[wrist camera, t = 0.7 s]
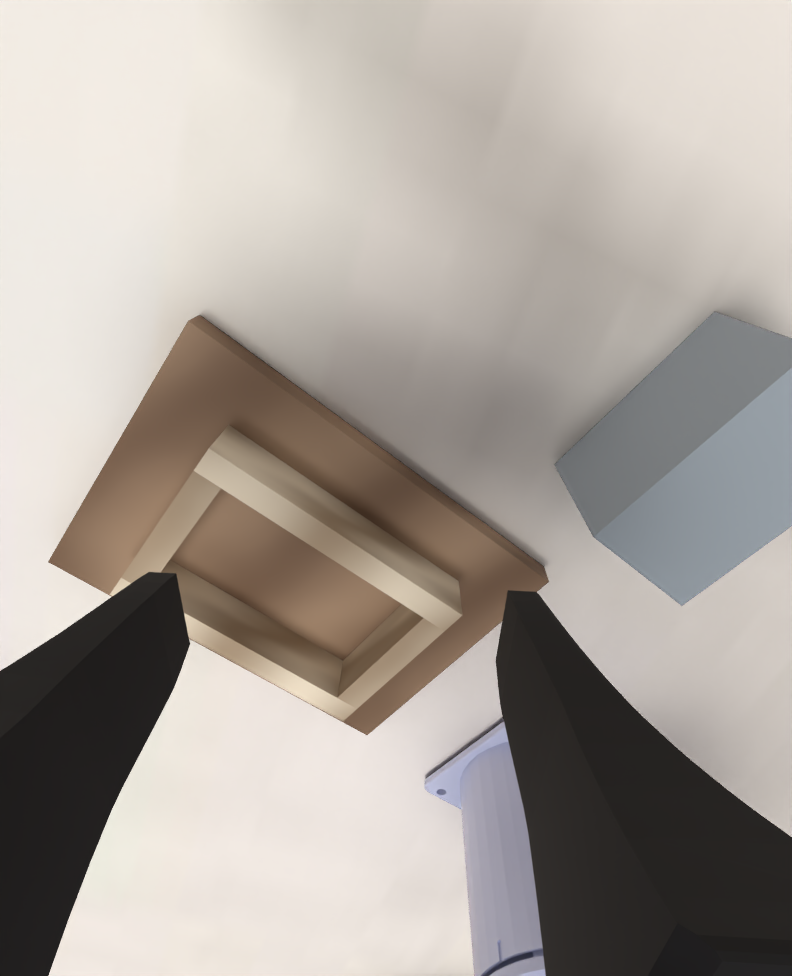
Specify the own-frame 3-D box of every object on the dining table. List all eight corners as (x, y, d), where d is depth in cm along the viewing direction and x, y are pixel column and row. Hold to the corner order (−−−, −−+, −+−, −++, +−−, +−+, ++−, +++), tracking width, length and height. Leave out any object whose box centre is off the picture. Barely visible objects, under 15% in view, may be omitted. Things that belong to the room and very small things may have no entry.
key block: (785, 386, 18) (904, 444, 14) (625, 521, 21) (681, 605, 16) (712, 311, 17) (816, 346, 13) (553, 463, 20) (593, 536, 15)
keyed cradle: (543, 566, 22) (561, 616, 19) (368, 717, 26) (363, 774, 24) (199, 314, 18) (161, 334, 15) (62, 547, 22) (15, 594, 20)
